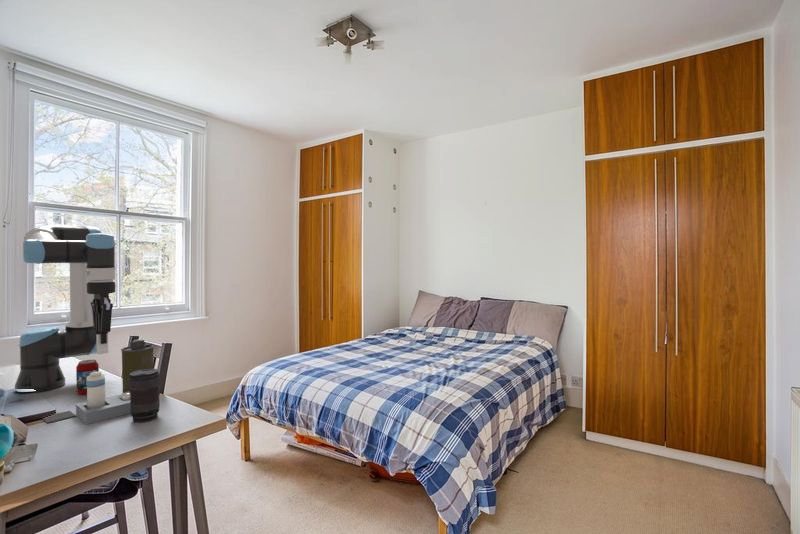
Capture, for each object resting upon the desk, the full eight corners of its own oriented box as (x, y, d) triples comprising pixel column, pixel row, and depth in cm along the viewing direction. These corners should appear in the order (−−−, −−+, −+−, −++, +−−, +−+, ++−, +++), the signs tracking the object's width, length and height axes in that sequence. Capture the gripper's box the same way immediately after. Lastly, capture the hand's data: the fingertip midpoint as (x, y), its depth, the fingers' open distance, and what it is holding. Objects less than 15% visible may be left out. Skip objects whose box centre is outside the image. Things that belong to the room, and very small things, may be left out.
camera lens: (132, 416, 131) (131, 369, 131) (161, 412, 134) (160, 367, 134) (127, 425, 123) (126, 376, 123) (157, 421, 127) (157, 373, 126)
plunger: (120, 405, 138) (120, 393, 138) (132, 402, 141) (132, 390, 141) (124, 407, 136) (124, 395, 136) (136, 404, 138) (136, 392, 138)
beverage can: (77, 396, 150) (76, 364, 150) (76, 392, 155) (75, 361, 155) (100, 392, 154) (99, 361, 154) (98, 388, 160) (97, 358, 159)
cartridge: (85, 416, 131) (84, 373, 131) (103, 412, 135) (102, 370, 134) (89, 419, 128) (88, 375, 128) (107, 415, 132) (106, 372, 131)
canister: (138, 398, 148) (137, 343, 147) (114, 396, 150) (113, 342, 149) (161, 389, 158) (161, 338, 158) (139, 387, 160) (138, 337, 160)
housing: (76, 415, 132) (75, 404, 132) (132, 401, 144) (132, 391, 144) (86, 424, 124) (86, 413, 124) (145, 409, 137) (144, 399, 137)
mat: (42, 418, 130) (42, 416, 130) (69, 411, 135) (69, 410, 135) (47, 423, 125) (47, 422, 125) (75, 416, 131) (75, 415, 131)
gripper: (80, 281, 133) (82, 352, 134) (93, 282, 125) (95, 358, 126) (107, 280, 139) (109, 348, 140) (121, 281, 131) (123, 354, 132)
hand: (102, 353), depth 133 cm, fingers closed
